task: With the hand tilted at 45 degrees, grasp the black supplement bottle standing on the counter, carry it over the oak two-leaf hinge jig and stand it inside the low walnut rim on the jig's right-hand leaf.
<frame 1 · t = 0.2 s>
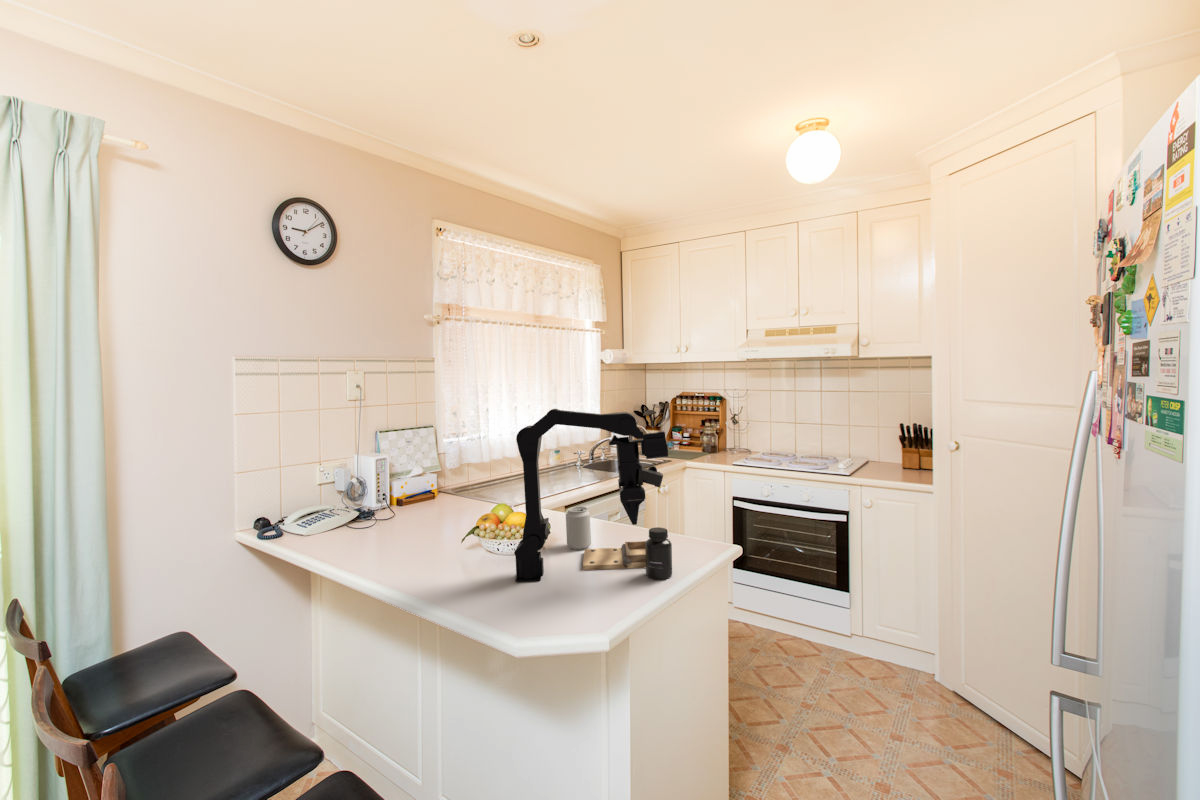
hand: (633, 519, 138), 14 cm above the table, tool pointing down, fingers open, 9 cm apart
can: (579, 547, 163), on the table
supplement bottle: (659, 576, 137), on the table
hinge jig: (626, 559, 150), on the table
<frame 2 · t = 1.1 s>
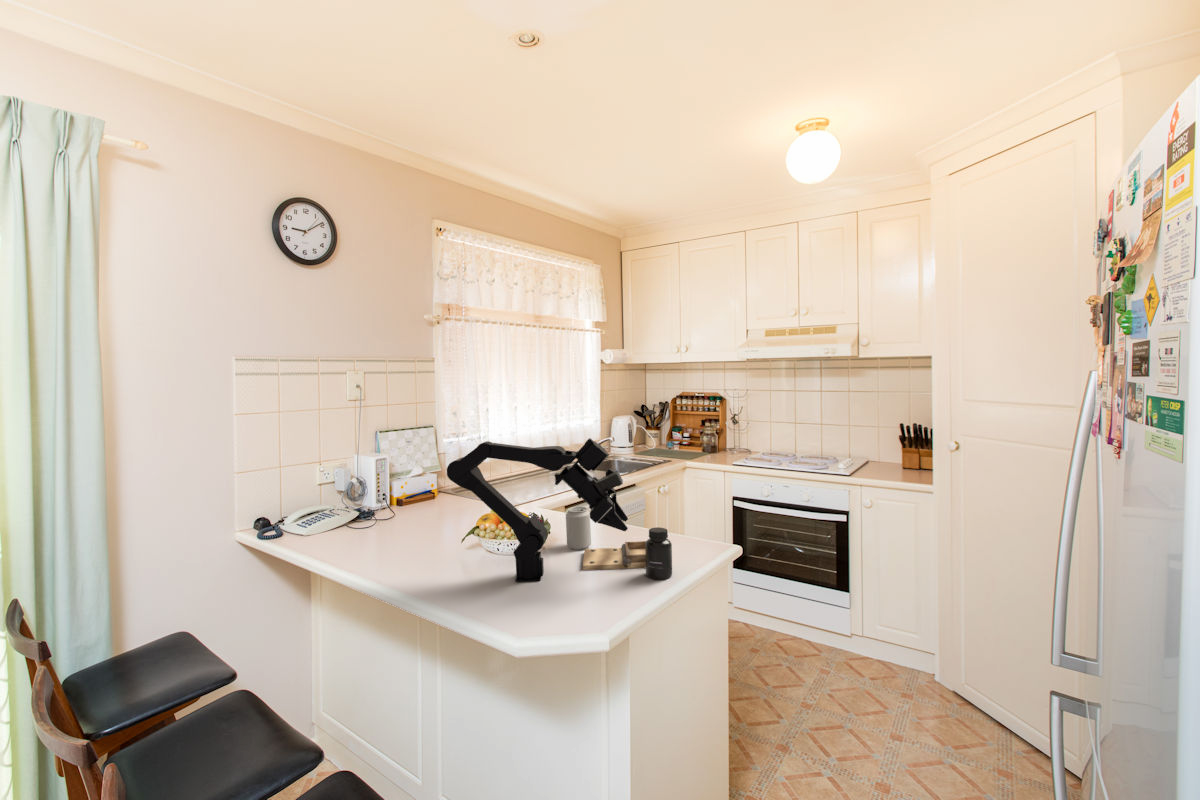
hand: (626, 524, 137), 13 cm above the table, tool tilted 45°, fingers open, 9 cm apart
nothing on the table moved.
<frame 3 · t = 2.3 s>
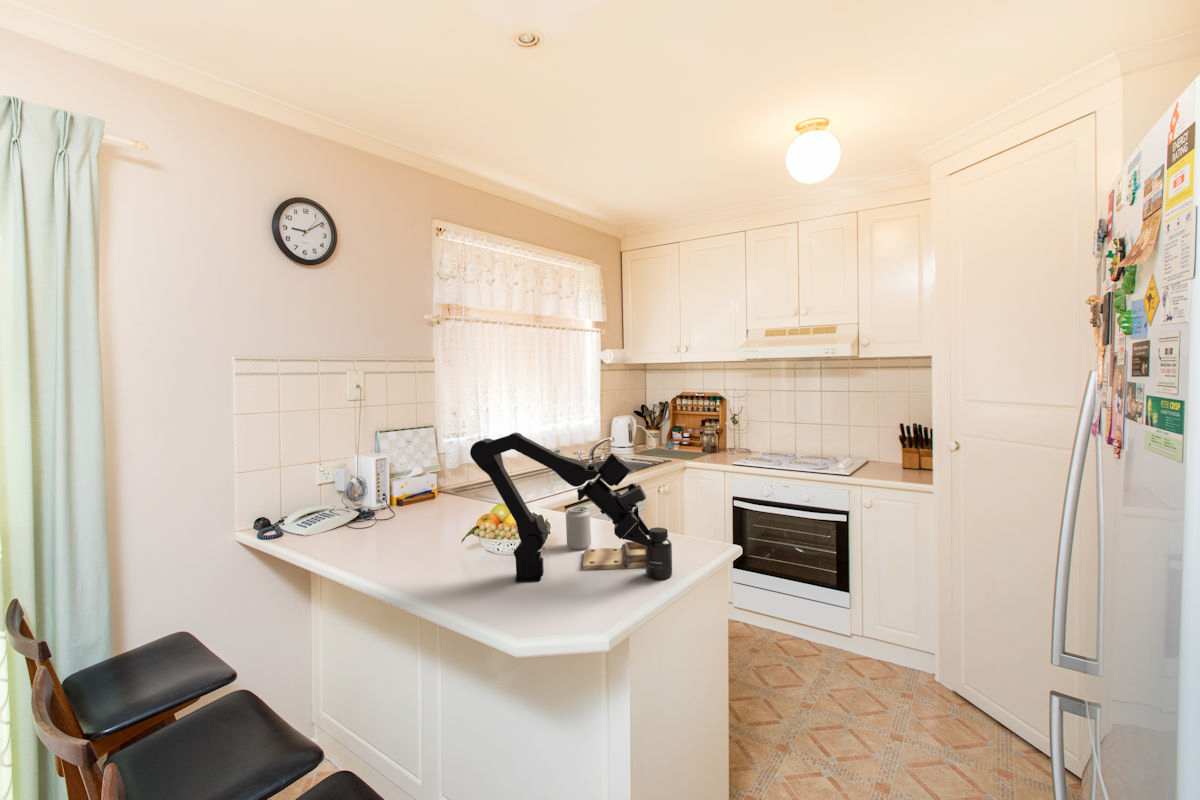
hand: (650, 539, 137), 9 cm above the table, tool tilted 45°, fingers open, 9 cm apart
nothing on the table moved.
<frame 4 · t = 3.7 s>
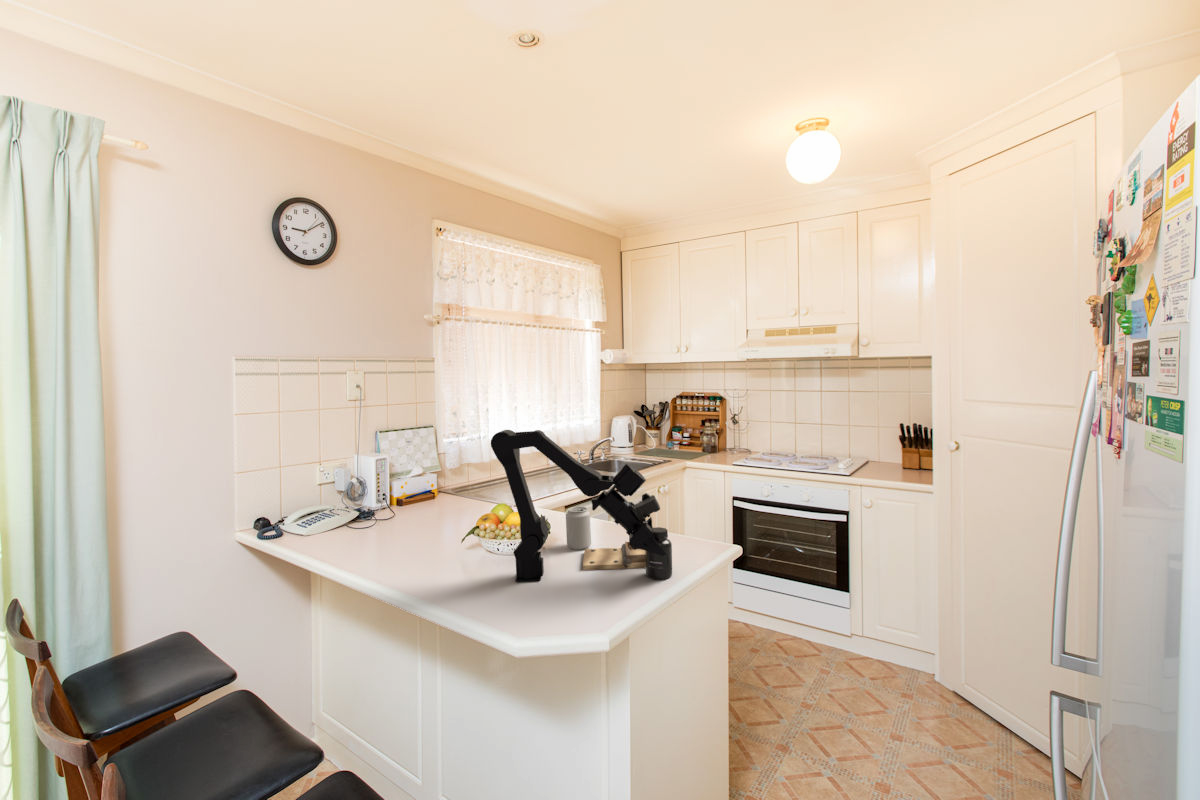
hand: (663, 550, 137), 7 cm above the table, tool tilted 45°, fingers closed on supplement bottle, 7 cm apart
supplement bottle: (659, 576, 137), on the table, touching gripper
everything else where it was.
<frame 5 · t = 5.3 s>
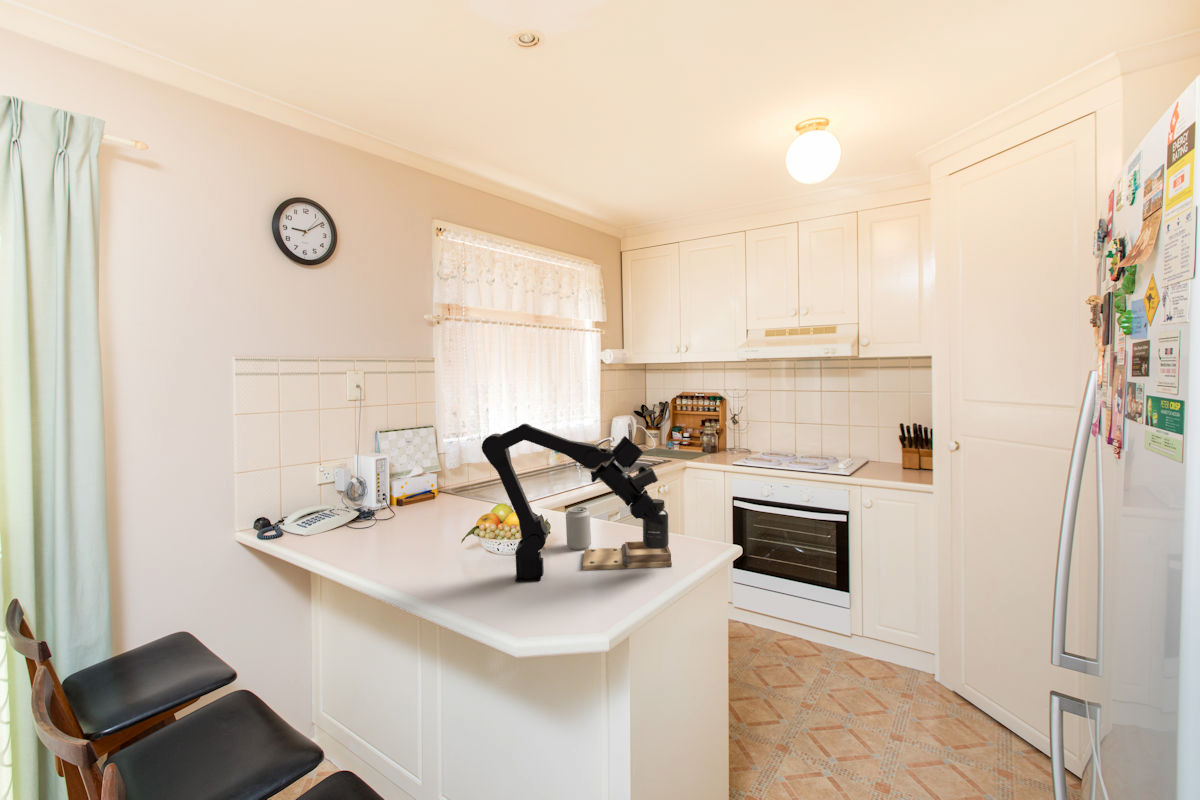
hand: (660, 520, 140), 13 cm above the table, tool tilted 45°, fingers closed on supplement bottle, 7 cm apart
supplement bottle: (656, 546, 141), point 6 cm above the table, touching gripper
everything else where it was.
when the fingers open (9 cm above the table, at t = 7.3 s): supplement bottle drops 1 cm, resting on hinge jig.
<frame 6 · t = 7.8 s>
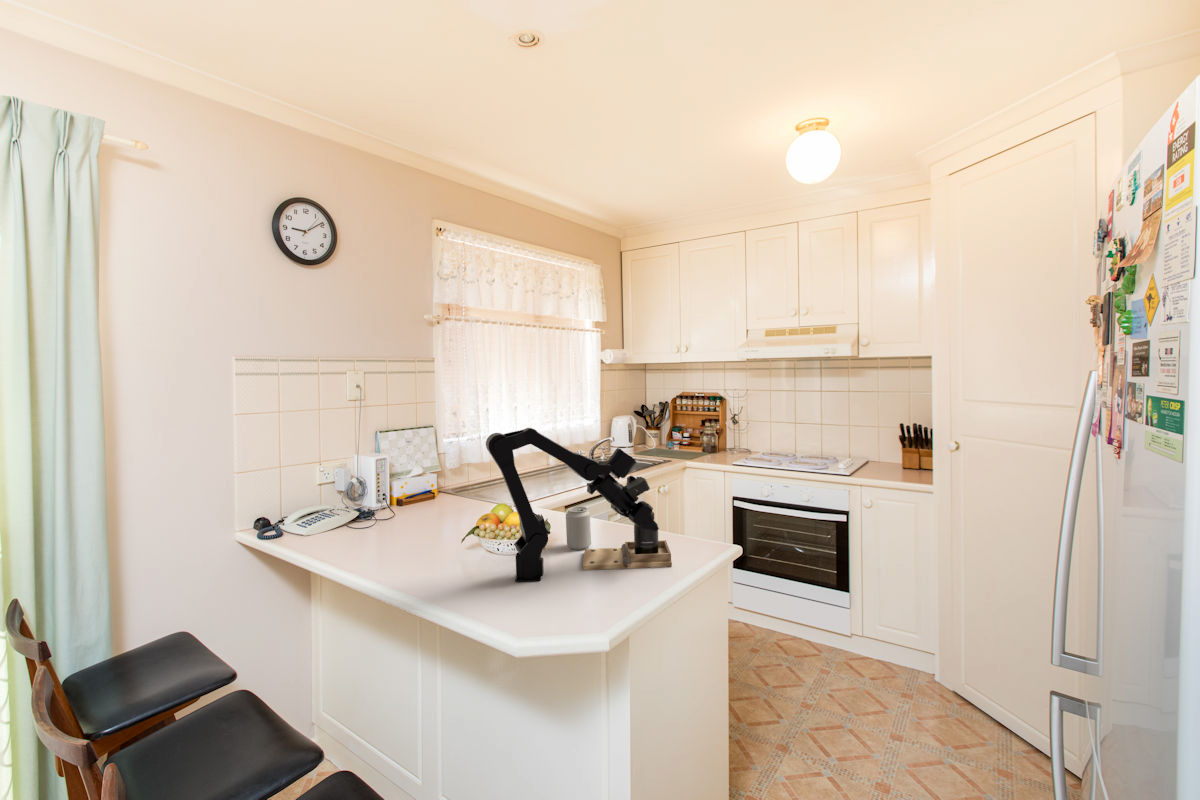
hand: (650, 525, 150), 9 cm above the table, tool tilted 45°, fingers open, 9 cm apart
supplement bottle: (646, 555, 150), point 1 cm above the table, touching hinge jig
everything else where it was.
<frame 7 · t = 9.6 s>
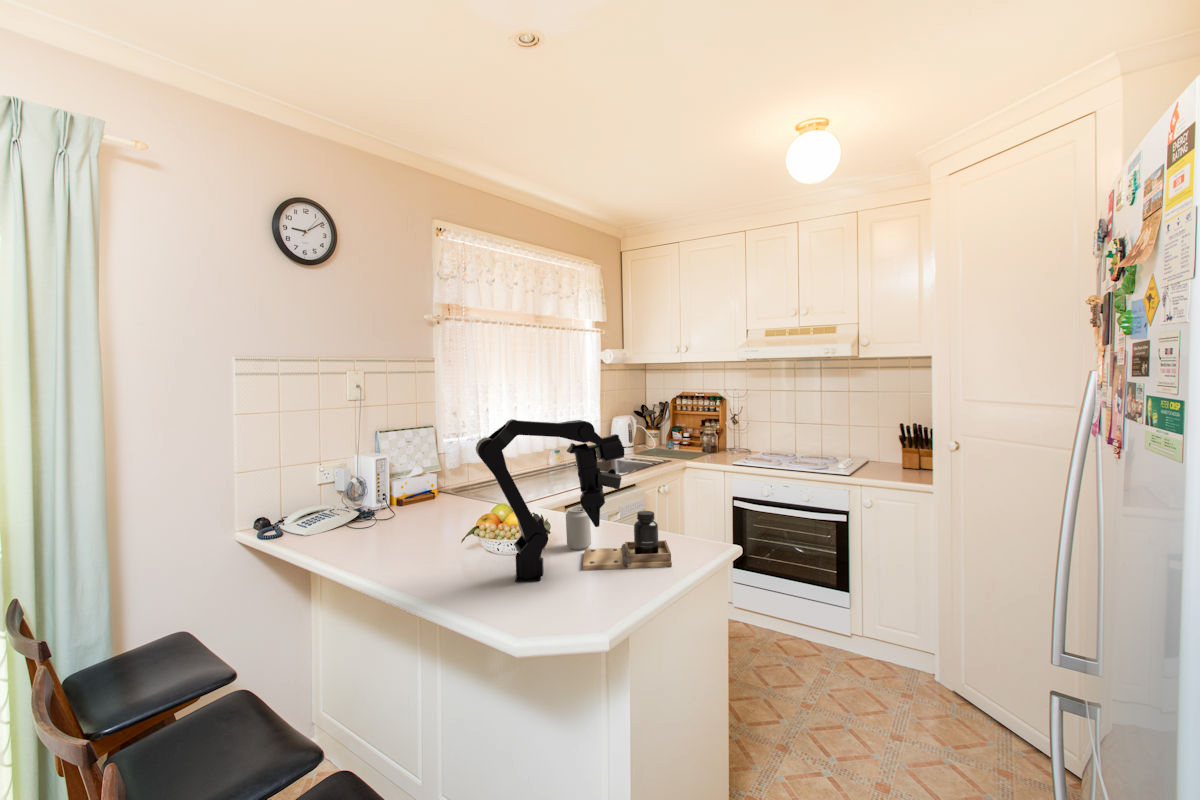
hand: (596, 521, 145), 12 cm above the table, tool pointing down, fingers open, 9 cm apart
nothing on the table moved.
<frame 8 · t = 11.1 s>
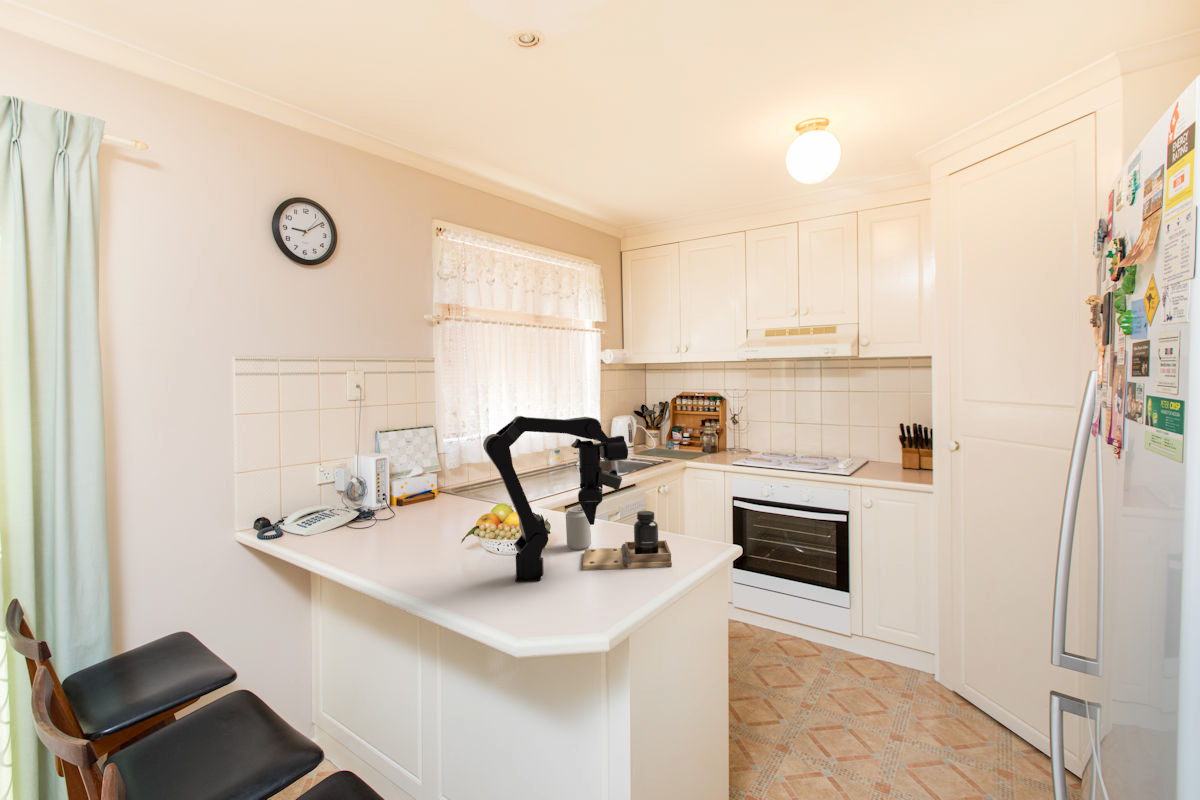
hand: (592, 520, 145), 13 cm above the table, tool pointing down, fingers open, 9 cm apart
nothing on the table moved.
at the end: supplement bottle 0.2 cm from the target spot, point 1.0 cm above the table; supplement bottle tilted 0°; the gripper is holding nothing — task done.
